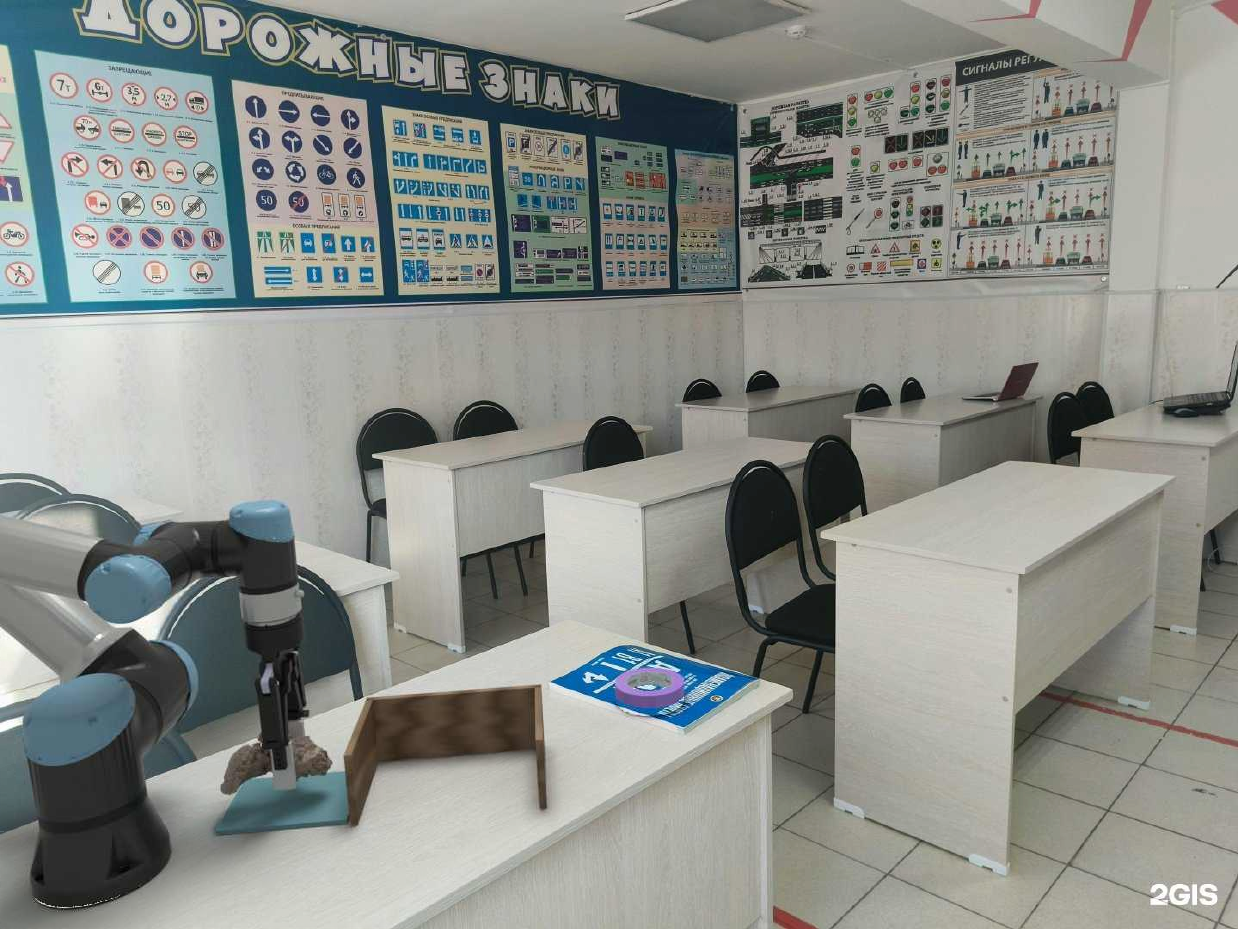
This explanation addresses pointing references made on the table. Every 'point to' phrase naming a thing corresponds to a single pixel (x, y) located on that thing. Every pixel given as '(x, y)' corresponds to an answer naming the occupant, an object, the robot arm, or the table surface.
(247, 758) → the rock
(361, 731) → the walnut cubby
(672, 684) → the masking tape
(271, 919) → the table surface
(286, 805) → the teal rubber mat
